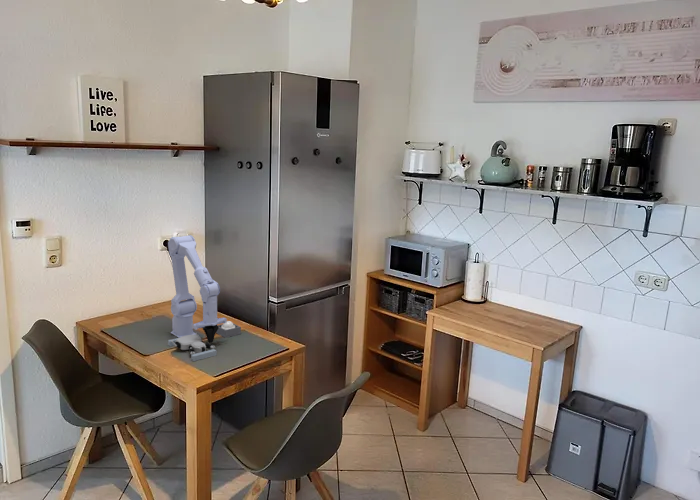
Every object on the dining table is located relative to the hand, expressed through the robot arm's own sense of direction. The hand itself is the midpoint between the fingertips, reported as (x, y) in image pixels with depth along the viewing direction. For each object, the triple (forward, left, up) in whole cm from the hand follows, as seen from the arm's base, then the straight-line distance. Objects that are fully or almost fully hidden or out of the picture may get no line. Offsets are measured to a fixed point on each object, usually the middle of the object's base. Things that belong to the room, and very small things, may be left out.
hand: (210, 342), depth 226 cm
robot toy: (0, -8, -2) cm, 8 cm away
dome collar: (-8, +13, -1) cm, 16 cm away
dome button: (-8, +14, 0) cm, 16 cm away
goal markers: (0, -9, -1) cm, 9 cm away
